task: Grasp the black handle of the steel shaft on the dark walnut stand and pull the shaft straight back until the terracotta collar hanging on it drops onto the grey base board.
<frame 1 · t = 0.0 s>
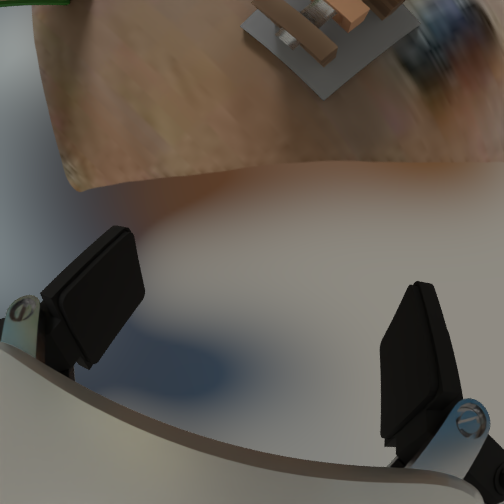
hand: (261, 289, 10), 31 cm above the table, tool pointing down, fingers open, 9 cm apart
stand: (335, 4, 20), on the base board, point 7 cm above the table
base board: (334, 17, 26), on the table
collar: (334, 8, 22), point 5 cm above the table, touching shaft
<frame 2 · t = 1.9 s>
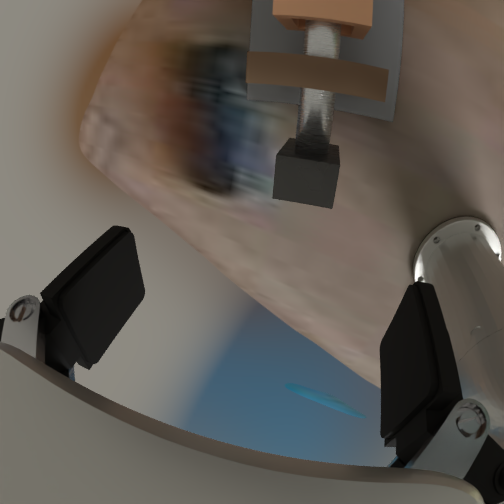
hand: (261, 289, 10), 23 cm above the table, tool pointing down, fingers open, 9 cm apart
shaft: (321, 51, 16), point 9 cm above the table, slide at 0.0 cm, touching collar
stand: (325, 15, 16), on the base board, point 7 cm above the table
base board: (327, 31, 21), on the table
collar: (325, 20, 17), point 5 cm above the table, touching shaft
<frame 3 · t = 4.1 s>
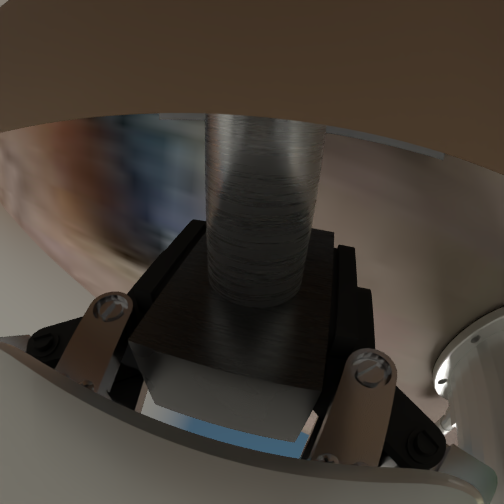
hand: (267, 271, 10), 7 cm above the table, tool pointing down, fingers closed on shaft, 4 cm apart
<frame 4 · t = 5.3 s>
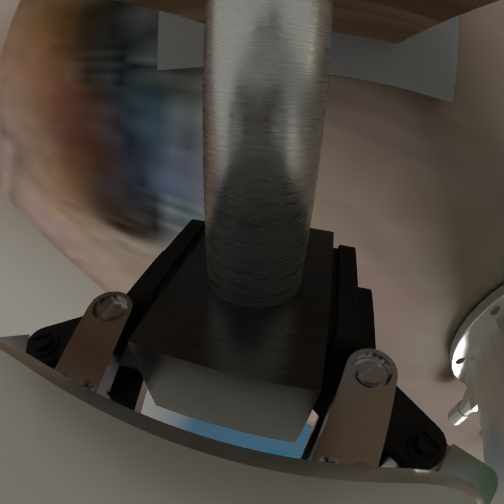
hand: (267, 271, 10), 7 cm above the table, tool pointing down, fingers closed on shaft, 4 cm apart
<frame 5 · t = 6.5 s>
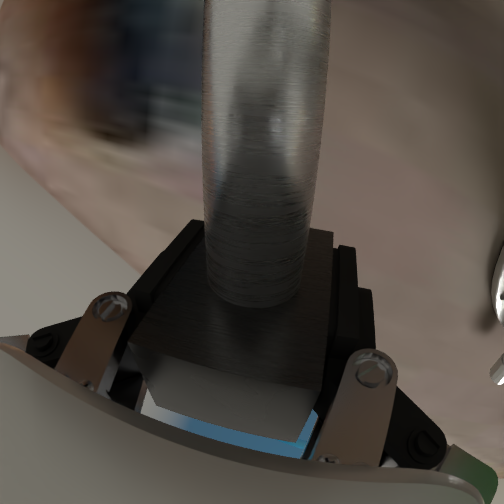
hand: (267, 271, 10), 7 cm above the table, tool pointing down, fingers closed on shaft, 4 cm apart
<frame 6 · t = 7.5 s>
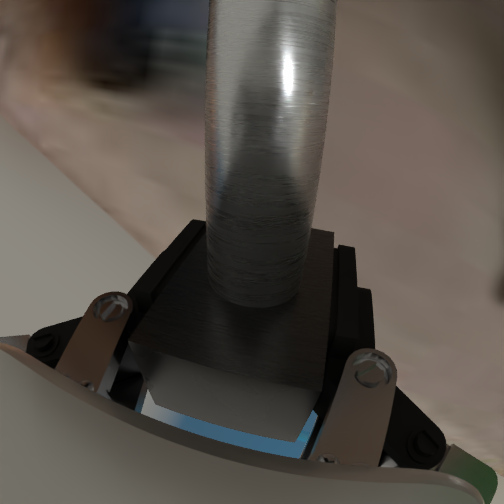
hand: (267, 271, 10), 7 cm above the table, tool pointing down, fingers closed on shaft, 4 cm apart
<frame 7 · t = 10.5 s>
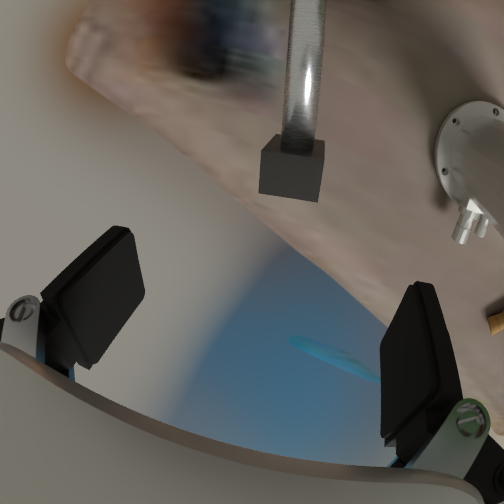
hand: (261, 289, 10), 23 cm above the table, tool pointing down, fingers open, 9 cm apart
shaft: (305, 48, 16), point 9 cm above the table, slide at 13.0 cm
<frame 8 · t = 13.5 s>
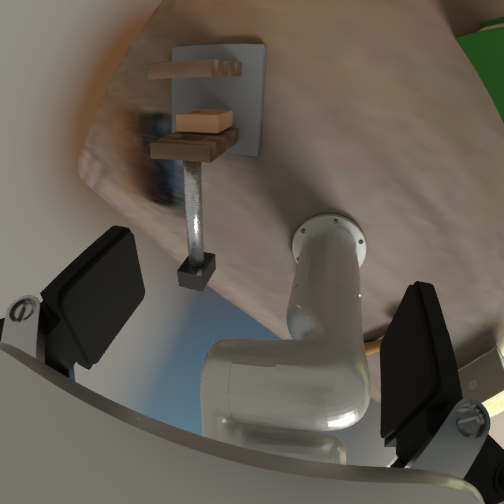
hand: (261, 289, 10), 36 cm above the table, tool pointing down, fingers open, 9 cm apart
laptop: (475, 370, 57), on the table
kendama: (398, 330, 56), on the table
hardback book: (500, 79, 26), on the table
shaft: (194, 221, 42), point 9 cm above the table, slide at 13.0 cm
stand: (197, 105, 35), on the base board, point 7 cm above the table
base board: (217, 100, 40), on the table
collar: (213, 116, 40), point 1 cm above the table, touching base board
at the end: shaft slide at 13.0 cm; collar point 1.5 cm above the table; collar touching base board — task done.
